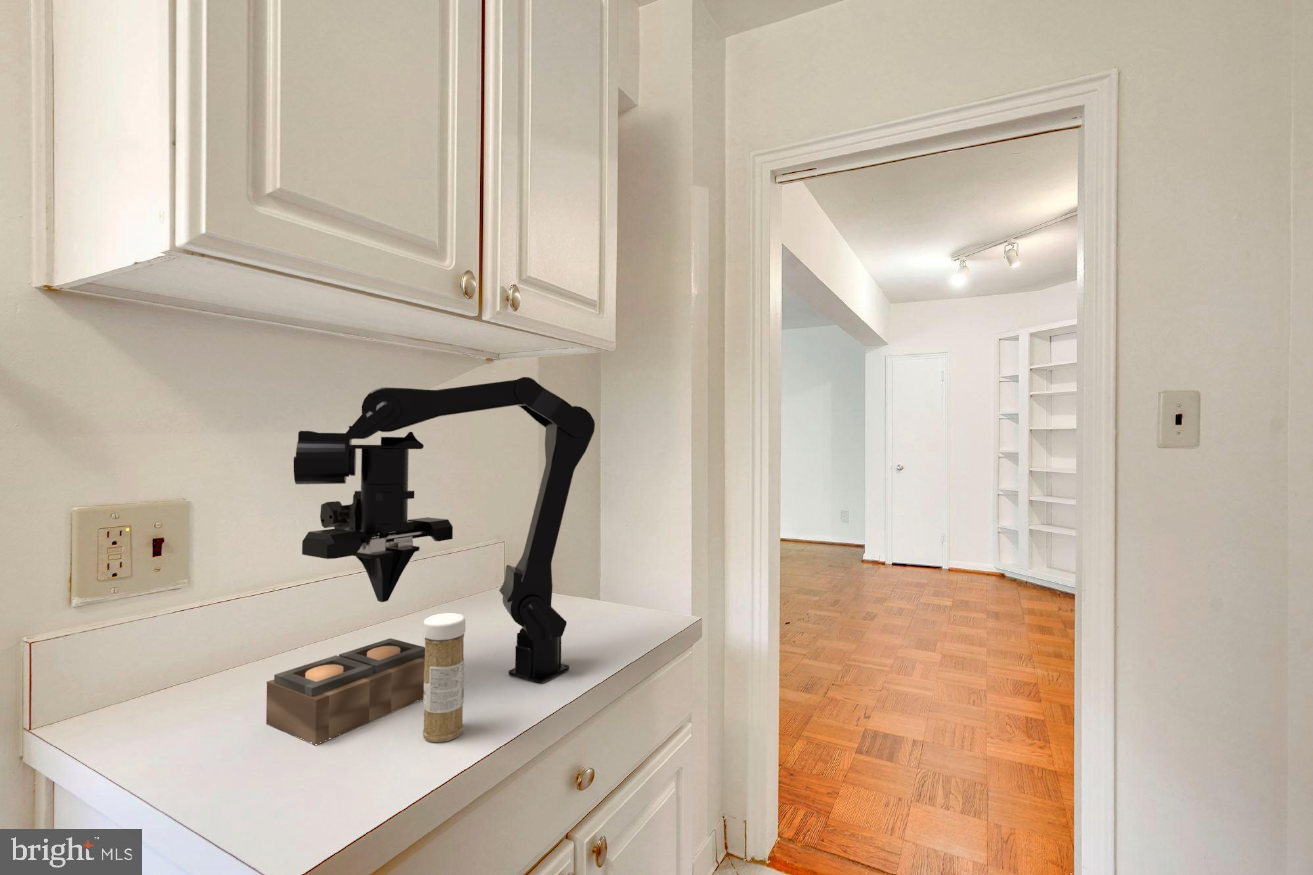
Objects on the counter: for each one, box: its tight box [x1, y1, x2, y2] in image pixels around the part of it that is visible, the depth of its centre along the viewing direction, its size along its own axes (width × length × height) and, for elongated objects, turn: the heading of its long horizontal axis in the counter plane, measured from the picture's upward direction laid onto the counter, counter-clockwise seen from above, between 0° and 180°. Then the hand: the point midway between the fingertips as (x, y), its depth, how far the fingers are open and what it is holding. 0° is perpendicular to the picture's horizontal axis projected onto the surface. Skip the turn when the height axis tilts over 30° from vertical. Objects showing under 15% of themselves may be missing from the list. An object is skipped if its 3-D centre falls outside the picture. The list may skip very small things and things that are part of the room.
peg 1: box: [305, 665, 343, 682], centre depth 73 cm, size 4×4×6 cm
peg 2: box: [367, 646, 400, 660], centre depth 80 cm, size 4×4×6 cm
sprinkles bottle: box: [422, 612, 466, 743], centre depth 70 cm, size 5×5×14 cm
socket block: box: [265, 637, 425, 745], centre depth 76 cm, size 16×10×6 cm, turn 150°
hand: (382, 601), depth 80 cm, fingers closed
